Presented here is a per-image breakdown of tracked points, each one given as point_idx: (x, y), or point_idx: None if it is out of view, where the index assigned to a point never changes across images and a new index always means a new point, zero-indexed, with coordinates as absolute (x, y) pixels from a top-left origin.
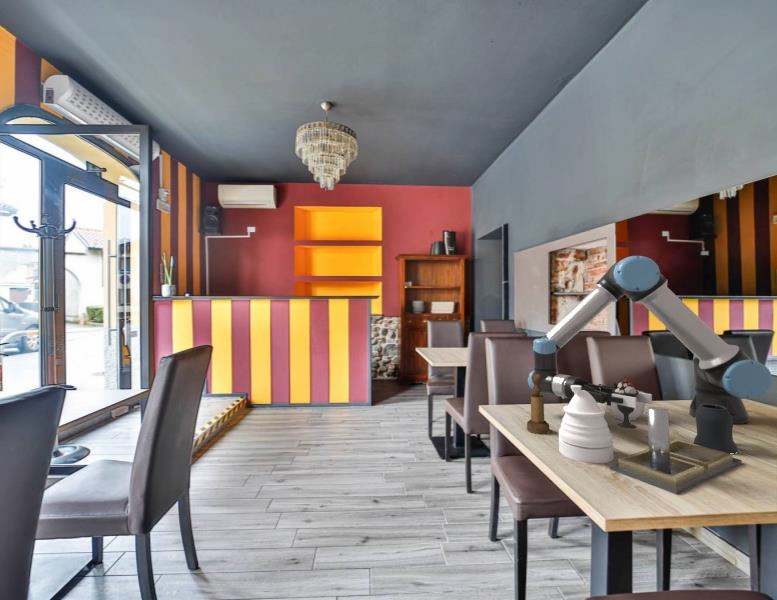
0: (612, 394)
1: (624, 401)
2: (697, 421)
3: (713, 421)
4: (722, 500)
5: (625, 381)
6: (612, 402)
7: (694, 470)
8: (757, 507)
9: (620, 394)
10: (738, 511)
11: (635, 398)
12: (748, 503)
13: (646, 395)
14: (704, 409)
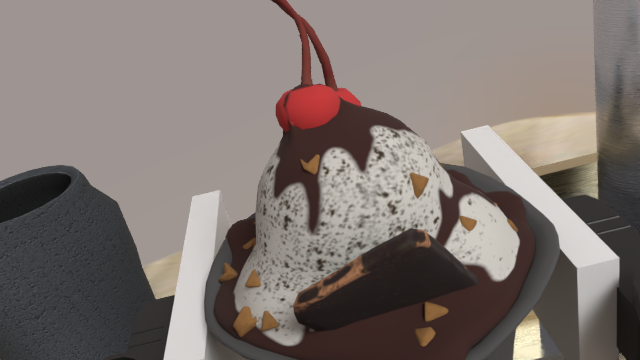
0: (612, 256)
1: None
2: (99, 293)
3: (125, 222)
4: (580, 138)
5: (339, 98)
6: (617, 357)
7: (552, 164)
8: (522, 125)
9: (527, 205)
10: (589, 115)
11: (482, 129)
12: (524, 133)
13: (222, 223)
14: (78, 200)
